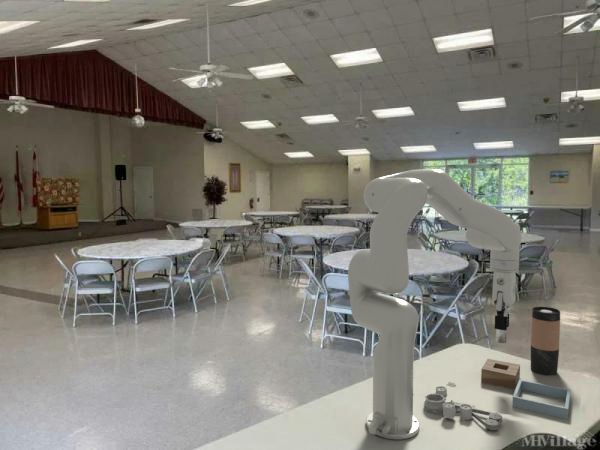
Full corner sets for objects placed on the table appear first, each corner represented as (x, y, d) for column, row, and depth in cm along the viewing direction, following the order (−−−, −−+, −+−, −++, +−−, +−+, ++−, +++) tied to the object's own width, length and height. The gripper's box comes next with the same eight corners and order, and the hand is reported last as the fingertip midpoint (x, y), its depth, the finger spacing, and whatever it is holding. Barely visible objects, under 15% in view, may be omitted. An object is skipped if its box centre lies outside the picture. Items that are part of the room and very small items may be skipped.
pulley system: (456, 443, 106) (512, 430, 110) (455, 423, 106) (511, 411, 110) (401, 394, 133) (448, 385, 136) (400, 378, 133) (447, 370, 136)
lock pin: (506, 344, 131) (508, 310, 130) (493, 342, 133) (494, 308, 132) (508, 340, 134) (510, 307, 133) (495, 338, 136) (496, 305, 135)
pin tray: (567, 422, 113) (567, 409, 112) (512, 409, 119) (512, 396, 119) (569, 402, 123) (570, 389, 123) (518, 391, 130) (519, 379, 130)
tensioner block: (514, 392, 129) (515, 375, 128) (481, 385, 134) (481, 368, 133) (519, 381, 136) (520, 364, 136) (487, 374, 141) (487, 358, 141)
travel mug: (563, 375, 140) (566, 311, 138) (546, 380, 136) (549, 314, 134) (540, 366, 146) (543, 305, 145) (524, 371, 143) (526, 308, 141)
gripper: (514, 270, 123) (511, 338, 125) (522, 262, 136) (519, 322, 138) (484, 268, 127) (482, 333, 129) (495, 259, 141) (493, 319, 142)
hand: (501, 327), depth 133 cm, fingers closed on lock pin, 2 cm apart
